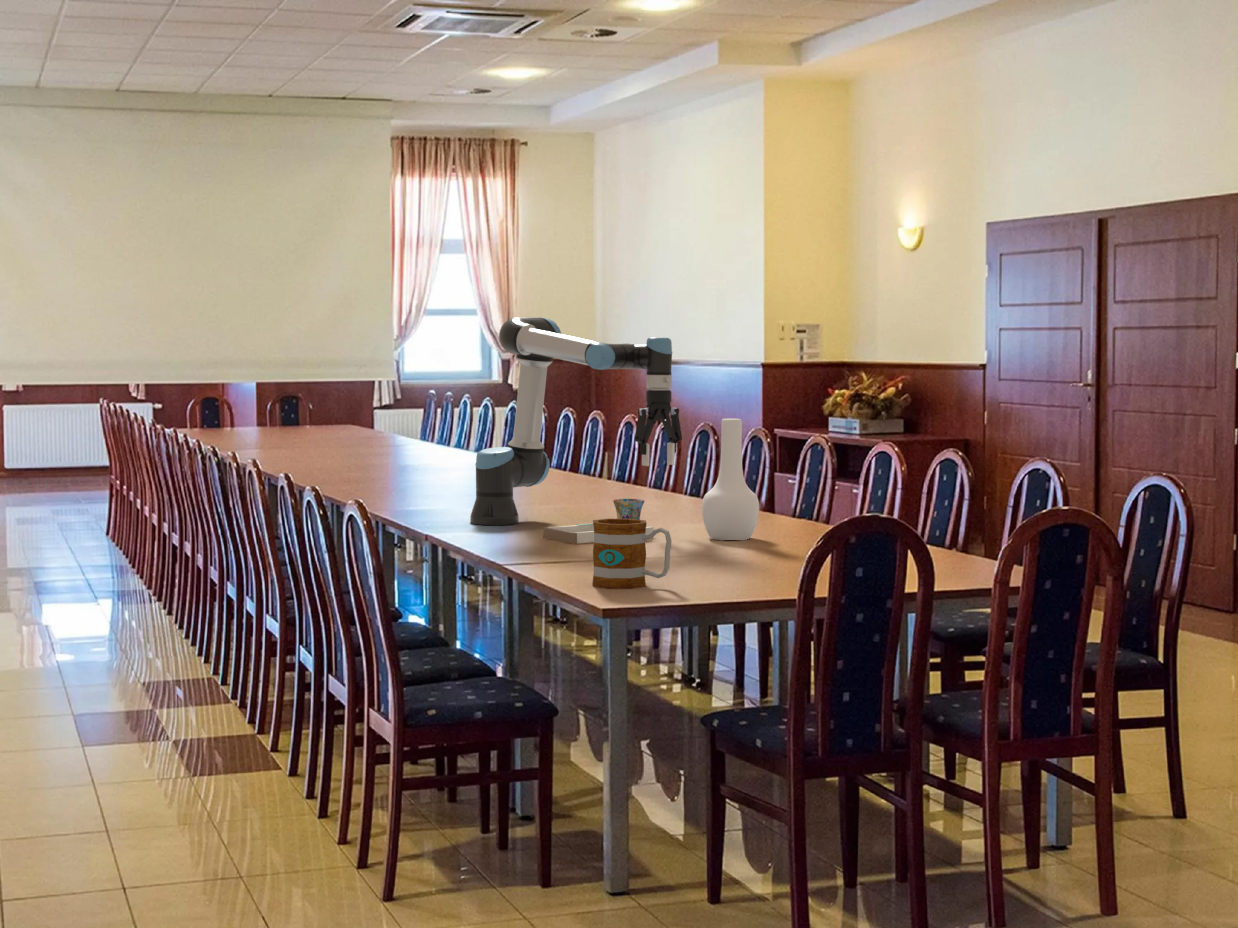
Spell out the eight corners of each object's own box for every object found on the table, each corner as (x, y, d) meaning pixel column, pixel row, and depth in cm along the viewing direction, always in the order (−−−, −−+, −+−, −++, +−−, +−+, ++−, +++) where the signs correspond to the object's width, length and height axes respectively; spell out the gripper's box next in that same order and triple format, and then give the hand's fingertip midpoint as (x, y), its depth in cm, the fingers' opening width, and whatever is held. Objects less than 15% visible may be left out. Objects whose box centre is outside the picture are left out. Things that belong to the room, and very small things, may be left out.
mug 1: (646, 537, 466) (646, 501, 465) (614, 538, 464) (615, 501, 464) (640, 532, 477) (640, 497, 477) (609, 533, 476) (609, 497, 475)
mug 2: (581, 586, 372) (581, 523, 370) (602, 579, 384) (603, 517, 383) (661, 592, 365) (661, 527, 363) (679, 584, 377) (680, 521, 376)
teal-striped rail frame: (537, 536, 466) (537, 525, 465) (615, 530, 482) (616, 520, 482) (579, 544, 448) (579, 533, 447) (659, 538, 464) (659, 527, 464)
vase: (734, 543, 453) (736, 420, 451) (689, 538, 465) (691, 418, 462) (770, 538, 466) (772, 419, 463) (725, 533, 477) (727, 417, 474)
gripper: (637, 390, 465) (636, 467, 466) (695, 389, 477) (694, 464, 479) (622, 389, 471) (621, 465, 472) (679, 388, 483) (678, 462, 485)
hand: (658, 465), depth 476 cm, fingers open, 9 cm apart
